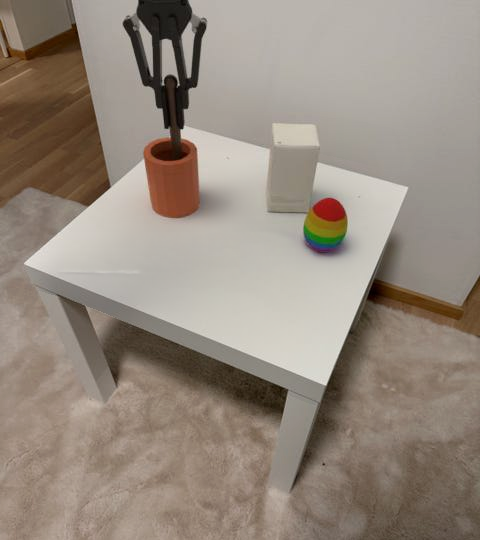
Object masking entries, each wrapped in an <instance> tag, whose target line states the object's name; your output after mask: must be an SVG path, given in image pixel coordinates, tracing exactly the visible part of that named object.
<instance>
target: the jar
mask: <svg viewBox="0 0 480 540" xmlns="http://www.w3.org/2000/svg"><path fill="white" fill-rule="evenodd" d="M181 142H182V154H183V159H181V160H176V161H173V158H172V148H171V138H170V136H169V137H162V138H157V139H154V140H152V141H150V142H149V143H148V144H147V145H146V146H145V147H144V149H143V152H142V154H143V160H144V166H145V174H146V180H147V187H148V193H149V200H150V203H151V208H152V210H153V211H154V212H155V213H156V214H158V215H159V216H162V217H166V218H171V219H173V218H174V219H175V218H184V217H186V216H190V215H191V214H193V213H195V212H196V211H197V210H198V209H199V207H200V203H201V202H200V199H201V197H200V196H201V195H200V176H199V175H200V174H199V158H198V148H197V146H196V145H195V143H194V142H192V141H190V140H188V139H185V138H182V137H181Z"/></svg>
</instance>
